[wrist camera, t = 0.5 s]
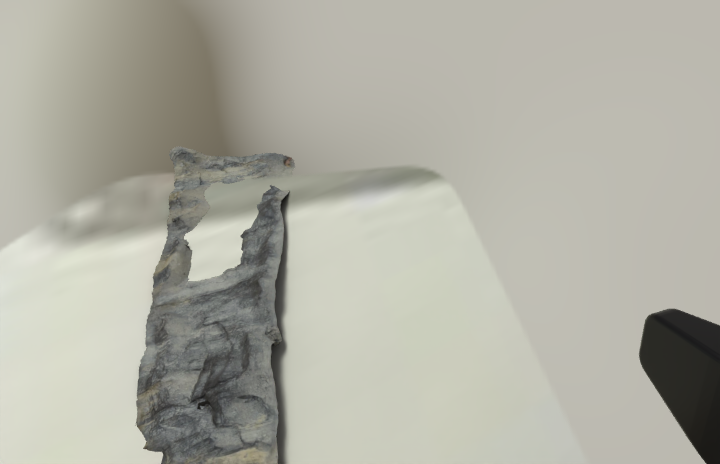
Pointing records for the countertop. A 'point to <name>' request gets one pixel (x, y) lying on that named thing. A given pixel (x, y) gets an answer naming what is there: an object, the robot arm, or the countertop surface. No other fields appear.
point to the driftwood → (214, 328)
